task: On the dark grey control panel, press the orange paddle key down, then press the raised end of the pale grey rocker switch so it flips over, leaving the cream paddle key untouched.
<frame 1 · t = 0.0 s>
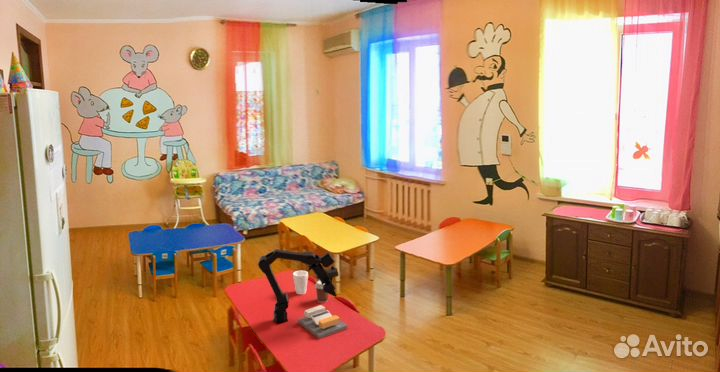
hand: (335, 292, 278), 15 cm above the table, tool tilted 35°, fingers open, 9 cm apart
orange key: (329, 321, 265), point 5 cm above the table, slide at 0.0 cm
coffee cup: (322, 300, 302), on the table
cream key: (314, 311, 276), point 5 cm above the table, slide at 0.0 cm
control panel: (322, 325, 271), on the table
rocker switch: (322, 317, 270), point 5 cm above the table, hinge at 20.0°
foam cup: (301, 292, 314), on the table
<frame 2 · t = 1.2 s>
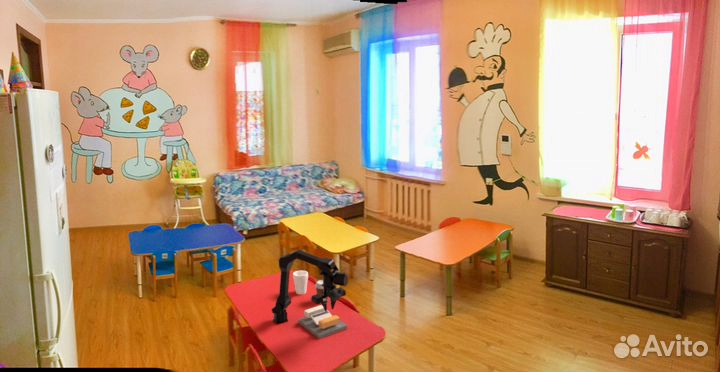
hand: (329, 310, 263), 12 cm above the table, tool pointing down, fingers open, 4 cm apart
nothing on the table moved.
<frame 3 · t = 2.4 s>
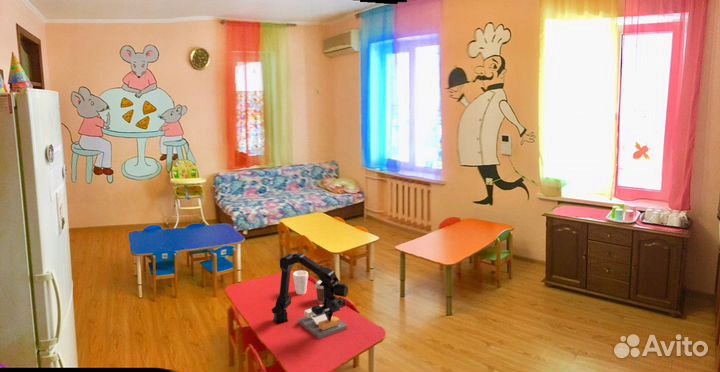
hand: (329, 320, 264), 6 cm above the table, tool pointing down, fingers closed, pressing on orange key
orange key: (329, 323, 265), point 4 cm above the table, slide at 0.9 cm, touching gripper
everything else where it was.
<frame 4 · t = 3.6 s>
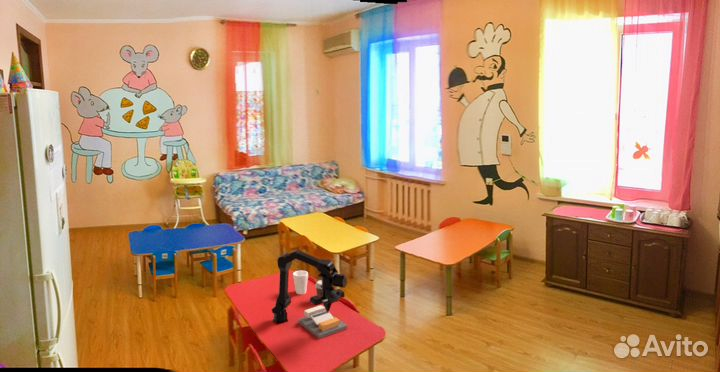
hand: (327, 311, 264), 11 cm above the table, tool pointing down, fingers closed
orange key: (329, 324, 265), point 4 cm above the table, slide at 1.4 cm
everything else where it was.
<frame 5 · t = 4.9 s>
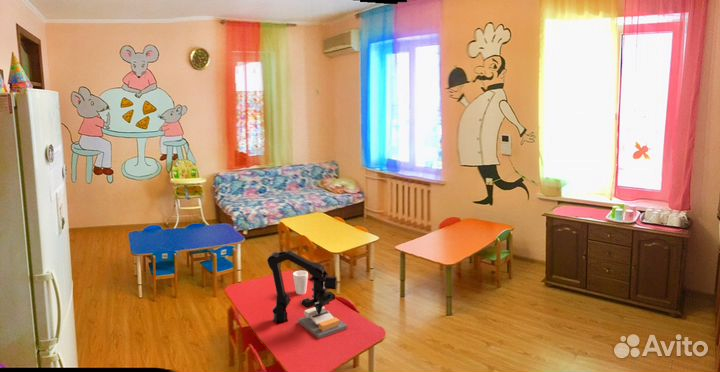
hand: (318, 313, 273), 6 cm above the table, tool pointing down, fingers closed, pressing on rocker switch
rocker switch: (322, 317, 270), point 5 cm above the table, hinge at 14.6°, touching gripper
everything else where it was.
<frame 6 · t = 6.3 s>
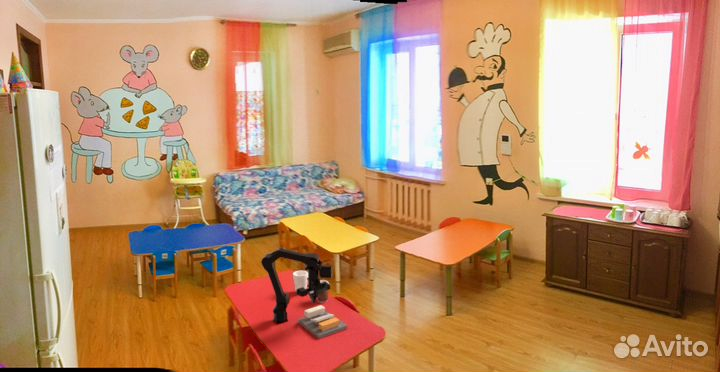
hand: (313, 303, 273), 11 cm above the table, tool pointing down, fingers closed
rocker switch: (322, 317, 270), point 5 cm above the table, hinge at -16.6°
everything else where it was.
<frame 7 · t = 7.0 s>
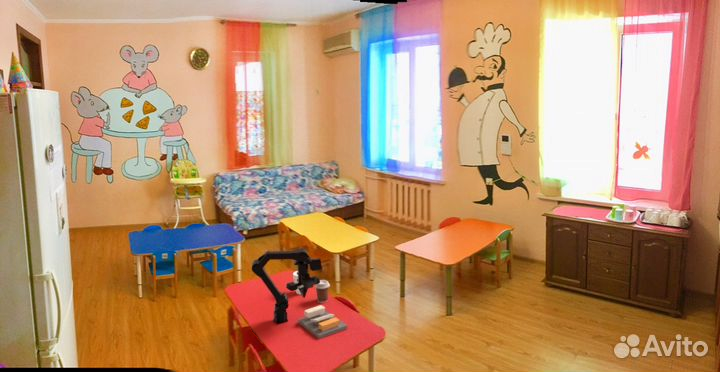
hand: (303, 297, 276), 13 cm above the table, tool pointing down, fingers closed
rocker switch: (322, 317, 270), point 5 cm above the table, hinge at -20.4°
everything else where it was.
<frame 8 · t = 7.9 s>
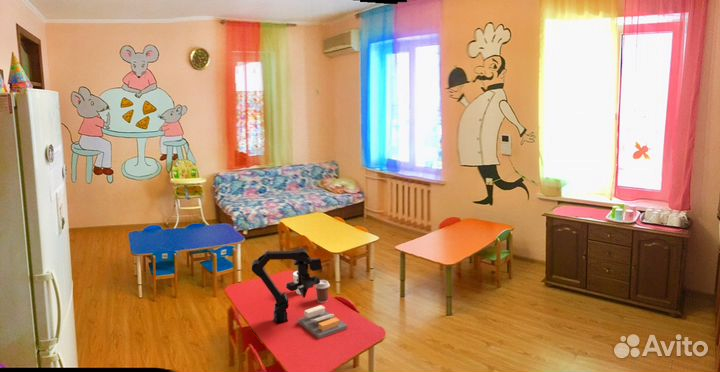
hand: (303, 297, 276), 13 cm above the table, tool pointing down, fingers closed
rocker switch: (322, 317, 270), point 5 cm above the table, hinge at -22.1°, touching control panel
everything else where it was.
at the end: orange key slide at 1.4 cm; rocker switch at -22° (first picture: +20°); cream key slide at 0.0 cm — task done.
